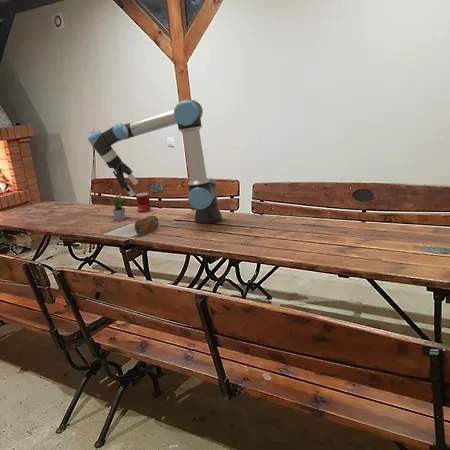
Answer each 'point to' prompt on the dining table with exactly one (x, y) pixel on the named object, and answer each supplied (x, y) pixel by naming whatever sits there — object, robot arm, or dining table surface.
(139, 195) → the canned food
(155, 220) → the tin
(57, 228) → the dining table surface
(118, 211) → the house plant
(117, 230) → the mat
